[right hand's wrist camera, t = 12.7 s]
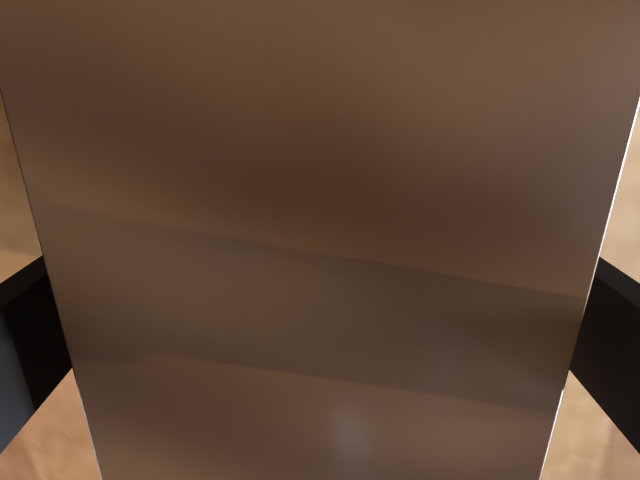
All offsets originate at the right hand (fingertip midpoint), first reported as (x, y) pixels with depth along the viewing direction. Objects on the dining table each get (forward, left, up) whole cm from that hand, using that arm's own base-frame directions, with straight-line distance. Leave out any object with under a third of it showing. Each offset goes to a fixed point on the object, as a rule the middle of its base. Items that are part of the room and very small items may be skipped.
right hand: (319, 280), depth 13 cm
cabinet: (+1, -4, -8) cm, 9 cm away
